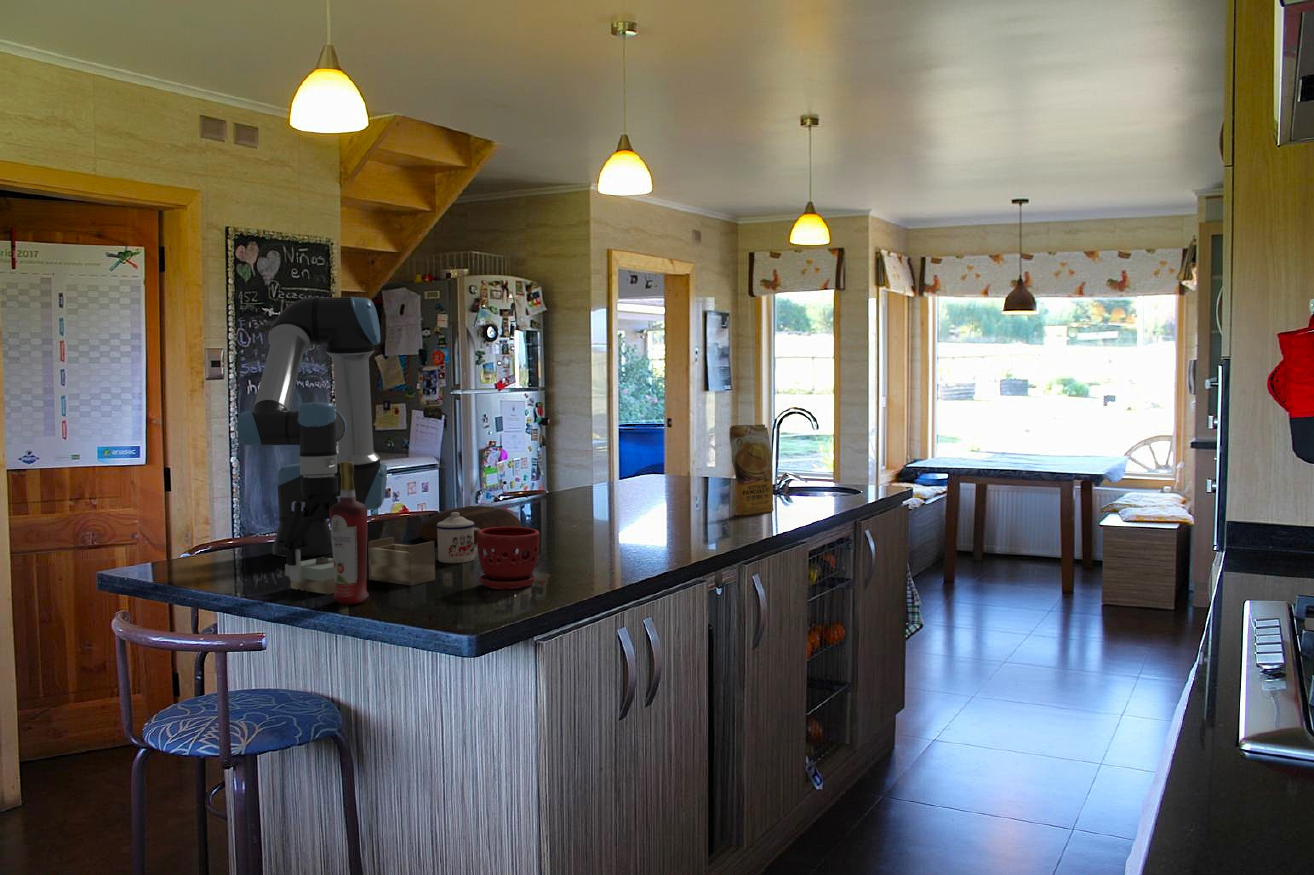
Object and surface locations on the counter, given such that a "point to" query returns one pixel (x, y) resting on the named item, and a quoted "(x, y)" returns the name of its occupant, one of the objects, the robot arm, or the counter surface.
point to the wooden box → (401, 562)
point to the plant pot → (508, 556)
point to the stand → (315, 585)
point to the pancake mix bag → (752, 468)
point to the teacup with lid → (456, 539)
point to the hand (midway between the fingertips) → (322, 575)
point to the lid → (315, 569)
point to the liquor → (349, 541)
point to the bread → (477, 514)
